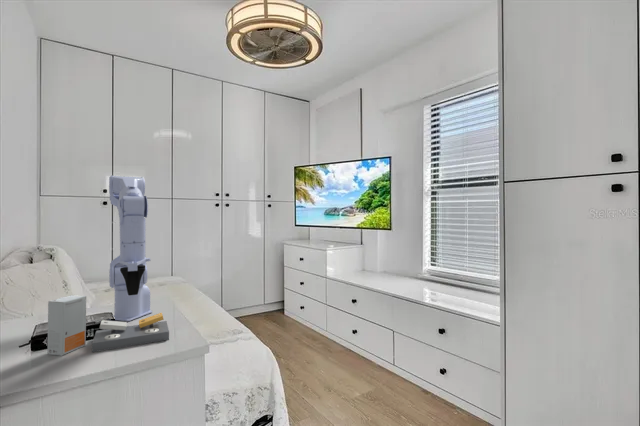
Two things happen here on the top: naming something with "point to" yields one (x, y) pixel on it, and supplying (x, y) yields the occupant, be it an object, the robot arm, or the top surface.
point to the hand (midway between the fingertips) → (133, 294)
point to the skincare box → (66, 324)
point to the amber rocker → (150, 320)
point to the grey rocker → (113, 325)
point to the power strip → (130, 336)
